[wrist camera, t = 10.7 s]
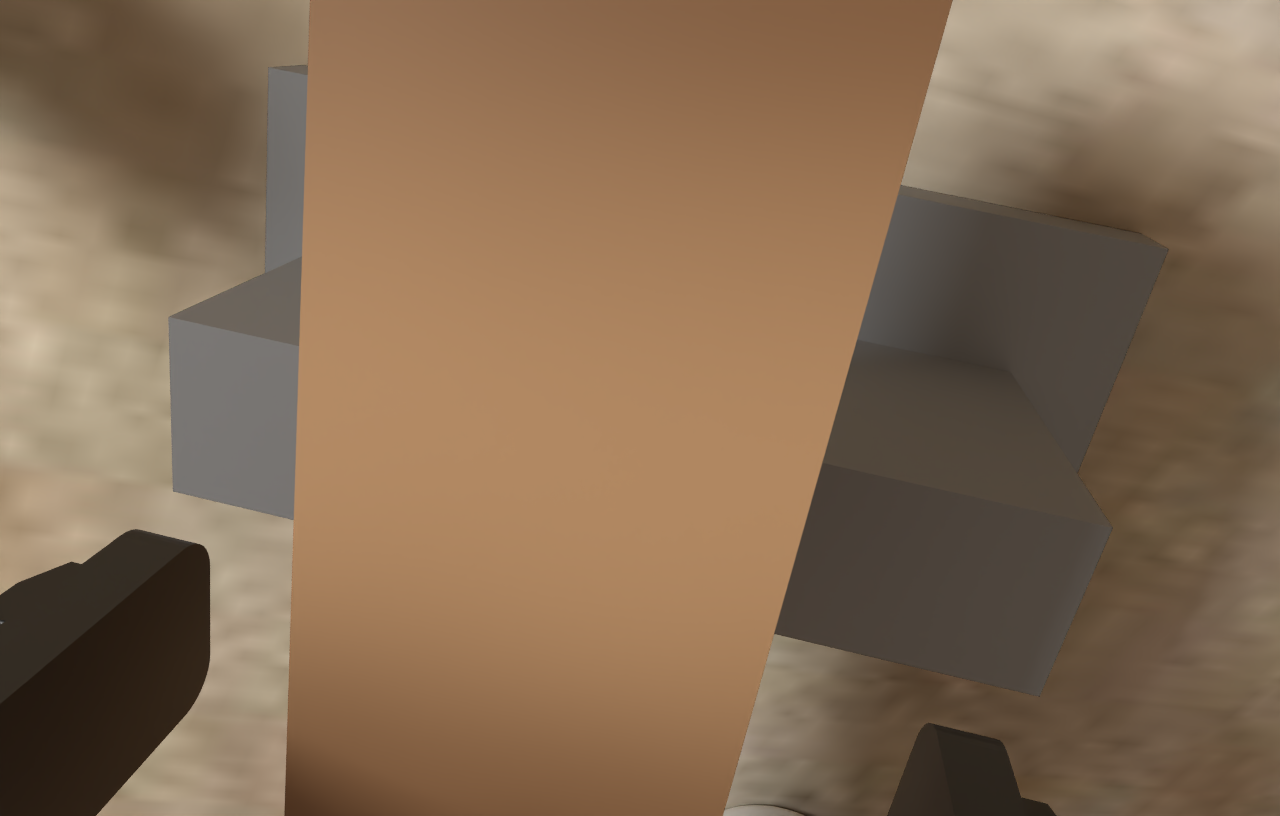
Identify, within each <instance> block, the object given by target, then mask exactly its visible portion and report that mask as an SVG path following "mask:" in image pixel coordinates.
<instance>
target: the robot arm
mask: <svg viewBox="0 0 1280 816" xmlns="http://www.w3.org/2000/svg"><path fill="white" fill-rule="evenodd" d="M209 661H210V560H209V555H208V552H207V550H206V549H205V547H204V546H202V545H200V544H196V543H192V542H188V541H184V540H180V539H176V538H171V537H167V536H163V535H159V534H155V533H151V532H147V531H143V530H137V529H135V530H130V531H128V532H125V533H124V534H122V535H121V536H119V537H118V538H117V539H115V540H114V541H113V542H111V543H110V544H109V545H107V546H106V547H105V548H103V549H102V550H101V551H99V552H98V553H96V554H95V555H94V556H92V557H91V558H90V559H88V560H87V561H86V562H84V563H83V564H78V563H74V562H70V563H67V564H64V565H62V566H59V567H57V568H54V569H52V570H49V571H47V572H44V573H42V574H39V575H36V576H34V577H31V578H29V579H26V580H24V581H21V582H19V583H17V584H15V585H14V586H12V587H11V588H10V589H8V590H7V591H5V592H4V593H3V594H1V595H0V816H96V815H97V814H98V813H99V812H100V811H101V809H102V808H103V807H104V806H105V805H106V804H107V803H108V802H109V800H110V799H111V798H112V797H113V796H114V795H115V794H116V793H117V791H118V790H119V789H120V788H121V787H122V786H123V785H124V784H125V782H126V781H127V780H128V779H129V778H130V777H131V776H132V775H133V773H134V772H135V771H136V770H137V769H138V768H139V767H140V766H141V765H142V763H143V762H144V761H145V760H146V759H147V758H148V757H149V756H150V754H151V753H152V752H153V751H154V750H155V749H156V748H157V747H158V745H159V744H160V743H161V742H162V741H163V740H164V739H165V738H166V736H167V735H168V734H169V733H170V732H171V731H172V730H173V729H174V727H175V726H176V725H177V724H178V723H179V722H180V721H181V720H182V719H183V717H184V716H185V715H186V714H187V713H188V711H189V710H190V709H191V707H192V706H193V704H194V702H195V701H196V699H197V697H198V695H199V693H200V691H201V689H202V686H203V684H204V681H205V678H206V675H207V671H208V667H209ZM887 816H1056V815H1055V813H1054V812H1053V811H1052V809H1051V808H1050V807H1049V805H1048V804H1045V803H1041V802H1037V801H1033V800H1029V799H1025V798H1021V796H1020V793H1019V789H1018V786H1017V783H1016V780H1015V776H1014V773H1013V770H1012V767H1011V764H1010V760H1009V757H1008V754H1007V751H1006V749H1005V746H1004V745H1003V743H1002V742H1001V741H1000V740H997V739H993V738H989V737H985V736H981V735H977V734H973V733H968V732H964V731H960V730H956V729H952V728H948V727H944V726H940V725H935V724H931V723H927V724H925V725H924V726H923V727H922V729H921V730H920V732H919V734H918V736H917V739H916V741H915V744H914V746H913V749H912V752H911V754H910V757H909V760H908V762H907V765H906V768H905V770H904V773H903V776H902V778H901V781H900V783H899V786H898V789H897V791H896V794H895V797H894V799H893V802H892V805H891V807H890V810H889V813H888V815H887Z"/></svg>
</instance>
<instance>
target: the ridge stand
mask: <svg viewBox="0 0 1280 816" xmlns="http://www.w3.org/2000/svg"><path fill="white" fill-rule="evenodd" d="M307 81H308V66H306V65H298V66H282V67H268V127H267V187H266V247H265V273H264V274H262V275H260V276H257V277H255V278H253V279H251V280H249V281H246V282H244V283H242V284H240V285H238V286H236V287H233V288H231V289H229V290H227V291H225V292H222V293H220V294H218V295H216V296H214V297H211V298H209V299H207V300H205V301H203V302H200V303H198V304H196V305H194V306H192V307H189V308H187V309H185V310H183V311H181V312H178V313H176V314H174V315H172V316H170V317H169V356H170V394H171V432H172V471H173V491H174V492H178V493H182V494H186V495H191V496H195V497H199V498H203V499H207V500H212V501H216V502H220V503H224V504H228V505H233V506H237V507H241V508H245V509H250V510H254V511H258V512H262V513H266V514H271V515H275V516H279V517H283V518H288V519H292V520H294V497H295V465H296V433H297V401H298V369H299V337H300V305H301V273H302V241H303V209H304V177H305V145H306V113H307ZM1168 250H1169V249H1167V248H1166V247H1164V246H1162V245H1160V244H1159V243H1157V242H1155V241H1153V240H1152V239H1150V238H1148V237H1146V236H1144V235H1143V234H1141V233H1136V232H1131V231H1126V230H1121V229H1116V228H1111V227H1106V226H1101V225H1096V224H1091V223H1086V222H1081V221H1076V220H1071V219H1066V218H1061V217H1056V216H1051V215H1046V214H1041V213H1036V212H1031V211H1026V210H1021V209H1016V208H1011V207H1006V206H1001V205H996V204H991V203H986V202H982V201H977V200H972V199H967V198H962V197H957V196H952V195H947V194H942V193H937V192H932V191H927V190H922V189H917V188H912V187H907V186H902V185H900V189H899V192H898V196H897V199H896V203H895V206H894V210H893V214H892V217H891V221H890V224H889V228H888V231H887V235H886V238H885V242H884V245H883V249H882V253H881V256H880V260H879V263H878V267H877V270H876V274H875V277H874V281H873V284H872V288H871V292H870V295H869V299H868V302H867V306H866V309H865V313H864V316H863V320H862V324H861V327H860V331H859V334H858V338H857V341H856V345H855V348H854V352H853V355H852V359H851V363H850V366H849V370H848V373H847V377H846V380H845V384H844V387H843V391H842V395H841V398H840V402H839V405H838V409H837V412H836V416H835V419H834V423H833V426H832V430H831V434H830V437H829V441H828V444H827V448H826V451H825V455H824V458H823V462H822V465H821V469H820V473H819V476H818V480H817V483H816V487H815V490H814V494H813V497H812V501H811V505H810V508H809V512H808V515H807V519H806V522H805V526H804V529H803V533H802V536H801V540H800V544H799V547H798V551H797V554H796V558H795V561H794V565H793V568H792V572H791V576H790V579H789V583H788V586H787V590H786V593H785V597H784V600H783V604H782V607H781V611H780V615H779V618H778V622H777V625H776V629H775V632H774V634H777V635H781V636H786V637H790V638H794V639H798V640H803V641H807V642H811V643H815V644H819V645H824V646H828V647H832V648H836V649H841V650H845V651H849V652H853V653H857V654H862V655H866V656H870V657H874V658H879V659H883V660H887V661H891V662H895V663H900V664H904V665H908V666H912V667H916V668H921V669H925V670H929V671H933V672H938V673H942V674H946V675H950V676H954V677H959V678H963V679H967V680H971V681H976V682H980V683H984V684H988V685H992V686H997V687H1001V688H1005V689H1009V690H1014V691H1018V692H1022V693H1026V694H1030V695H1035V696H1040V694H1041V692H1042V690H1043V687H1044V685H1045V683H1046V680H1047V678H1048V676H1049V673H1050V671H1051V669H1052V667H1053V664H1054V662H1055V660H1056V657H1057V655H1058V653H1059V650H1060V648H1061V646H1062V644H1063V641H1064V639H1065V637H1066V634H1067V632H1068V630H1069V628H1070V625H1071V623H1072V621H1073V618H1074V616H1075V614H1076V611H1077V609H1078V607H1079V605H1080V602H1081V600H1082V598H1083V595H1084V593H1085V591H1086V588H1087V586H1088V584H1089V582H1090V579H1091V577H1092V575H1093V572H1094V570H1095V568H1096V565H1097V563H1098V561H1099V559H1100V556H1101V554H1102V552H1103V549H1104V547H1105V545H1106V542H1107V540H1108V538H1109V536H1110V533H1111V531H1112V529H1113V527H1112V526H1111V524H1110V523H1109V521H1108V520H1107V518H1106V517H1105V515H1104V514H1103V512H1102V511H1101V509H1100V507H1099V506H1098V504H1097V503H1096V501H1095V500H1094V498H1093V497H1092V495H1091V494H1090V492H1089V491H1088V489H1087V488H1086V486H1085V485H1084V483H1083V482H1082V480H1081V479H1080V477H1079V476H1078V474H1077V473H1078V471H1079V468H1080V466H1081V463H1082V461H1083V458H1084V456H1085V454H1086V451H1087V449H1088V446H1089V444H1090V441H1091V439H1092V436H1093V434H1094V431H1095V429H1096V427H1097V424H1098V422H1099V419H1100V417H1101V414H1102V412H1103V409H1104V407H1105V404H1106V402H1107V399H1108V397H1109V395H1110V392H1111V390H1112V387H1113V385H1114V382H1115V380H1116V377H1117V375H1118V372H1119V370H1120V368H1121V365H1122V363H1123V360H1124V358H1125V355H1126V353H1127V350H1128V348H1129V345H1130V343H1131V340H1132V338H1133V336H1134V333H1135V331H1136V328H1137V326H1138V323H1139V321H1140V318H1141V316H1142V313H1143V311H1144V309H1145V306H1146V304H1147V301H1148V299H1149V296H1150V294H1151V291H1152V289H1153V286H1154V284H1155V281H1156V279H1157V277H1158V274H1159V272H1160V269H1161V267H1162V264H1163V262H1164V259H1165V257H1166V254H1167V252H1168Z"/></svg>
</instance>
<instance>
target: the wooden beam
mask: <svg viewBox="0 0 1280 816" xmlns="http://www.w3.org/2000/svg"><path fill="white" fill-rule="evenodd" d="M952 1H953V0H310V17H309V49H308V81H307V113H306V145H305V177H304V209H303V241H302V273H301V305H300V337H299V369H298V401H297V433H296V465H295V497H294V529H293V561H292V593H291V625H290V657H289V690H288V722H287V754H286V786H285V816H723V813H724V810H725V806H726V803H727V799H728V796H729V792H730V788H731V785H732V781H733V778H734V774H735V771H736V767H737V764H738V760H739V757H740V753H741V749H742V746H743V742H744V739H745V735H746V732H747V728H748V725H749V721H750V717H751V714H752V710H753V707H754V703H755V700H756V696H757V693H758V689H759V686H760V682H761V678H762V675H763V671H764V668H765V664H766V661H767V657H768V654H769V650H770V646H771V643H772V639H773V636H774V632H775V629H776V625H777V622H778V618H779V615H780V611H781V607H782V604H783V600H784V597H785V593H786V590H787V586H788V583H789V579H790V576H791V572H792V568H793V565H794V561H795V558H796V554H797V551H798V547H799V544H800V540H801V536H802V533H803V529H804V526H805V522H806V519H807V515H808V512H809V508H810V505H811V501H812V497H813V494H814V490H815V487H816V483H817V480H818V476H819V473H820V469H821V465H822V462H823V458H824V455H825V451H826V448H827V444H828V441H829V437H830V434H831V430H832V426H833V423H834V419H835V416H836V412H837V409H838V405H839V402H840V398H841V395H842V391H843V387H844V384H845V380H846V377H847V373H848V370H849V366H850V363H851V359H852V355H853V352H854V348H855V345H856V341H857V338H858V334H859V331H860V327H861V324H862V320H863V316H864V313H865V309H866V306H867V302H868V299H869V295H870V292H871V288H872V284H873V281H874V277H875V274H876V270H877V267H878V263H879V260H880V256H881V253H882V249H883V245H884V242H885V238H886V235H887V231H888V228H889V224H890V221H891V217H892V214H893V210H894V206H895V203H896V199H897V196H898V192H899V189H900V185H901V182H902V178H903V174H904V171H905V167H906V164H907V160H908V157H909V153H910V150H911V146H912V143H913V139H914V135H915V132H916V128H917V125H918V121H919V118H920V114H921V111H922V107H923V103H924V100H925V96H926V93H927V89H928V86H929V82H930V79H931V75H932V72H933V68H934V64H935V61H936V57H937V54H938V50H939V47H940V43H941V40H942V36H943V33H944V29H945V25H946V22H947V18H948V15H949V11H950V8H951V4H952Z"/></svg>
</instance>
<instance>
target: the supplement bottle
mask: <svg viewBox="0 0 1280 816" xmlns="http://www.w3.org/2000/svg"><path fill="white" fill-rule="evenodd" d="M723 816H804V815H802V814H799V813H797V812H795V811H791V810H788V809H784V808H779V807H775V806H767V805H744V806H738V807H733V808H729V809H726V810H724V813H723Z"/></svg>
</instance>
